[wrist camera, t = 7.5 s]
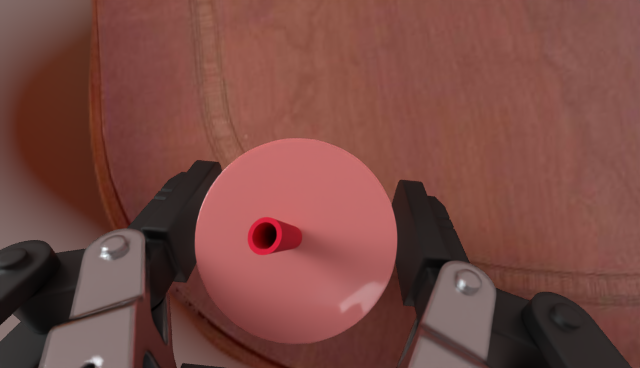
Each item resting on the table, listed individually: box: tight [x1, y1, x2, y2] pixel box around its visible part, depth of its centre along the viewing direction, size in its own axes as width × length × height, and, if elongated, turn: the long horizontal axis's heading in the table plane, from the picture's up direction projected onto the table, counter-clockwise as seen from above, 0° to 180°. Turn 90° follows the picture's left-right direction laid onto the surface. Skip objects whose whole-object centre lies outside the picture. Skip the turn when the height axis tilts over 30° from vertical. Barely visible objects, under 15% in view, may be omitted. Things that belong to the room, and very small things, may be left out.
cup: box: [195, 138, 397, 344], centre depth 10 cm, size 5×5×12 cm
